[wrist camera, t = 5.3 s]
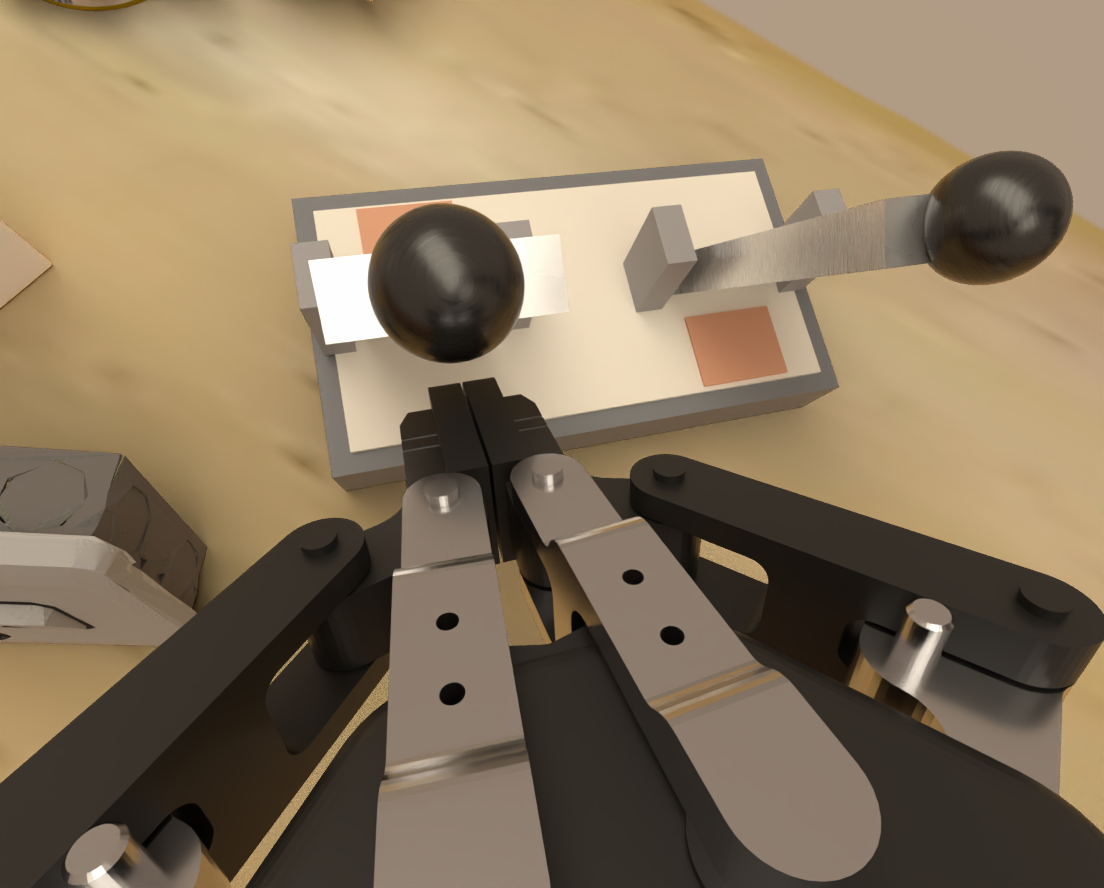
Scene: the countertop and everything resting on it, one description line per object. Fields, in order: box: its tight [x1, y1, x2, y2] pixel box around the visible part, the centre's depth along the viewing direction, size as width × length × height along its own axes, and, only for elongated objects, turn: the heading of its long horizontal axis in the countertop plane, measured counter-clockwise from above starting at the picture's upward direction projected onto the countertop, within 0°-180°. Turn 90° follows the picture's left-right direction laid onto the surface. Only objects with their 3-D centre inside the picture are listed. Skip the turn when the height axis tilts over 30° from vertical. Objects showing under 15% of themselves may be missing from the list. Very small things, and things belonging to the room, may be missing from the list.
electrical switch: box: [0, 446, 207, 646], centre depth 19 cm, size 9×5×9 cm, turn 88°
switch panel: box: [291, 159, 846, 491], centre depth 25 cm, size 22×12×7 cm, turn 102°
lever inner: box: [673, 151, 1073, 295], centre depth 20 cm, size 5×3×14 cm, turn 102°
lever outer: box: [308, 203, 569, 364], centre depth 17 cm, size 5×3×14 cm, turn 102°
